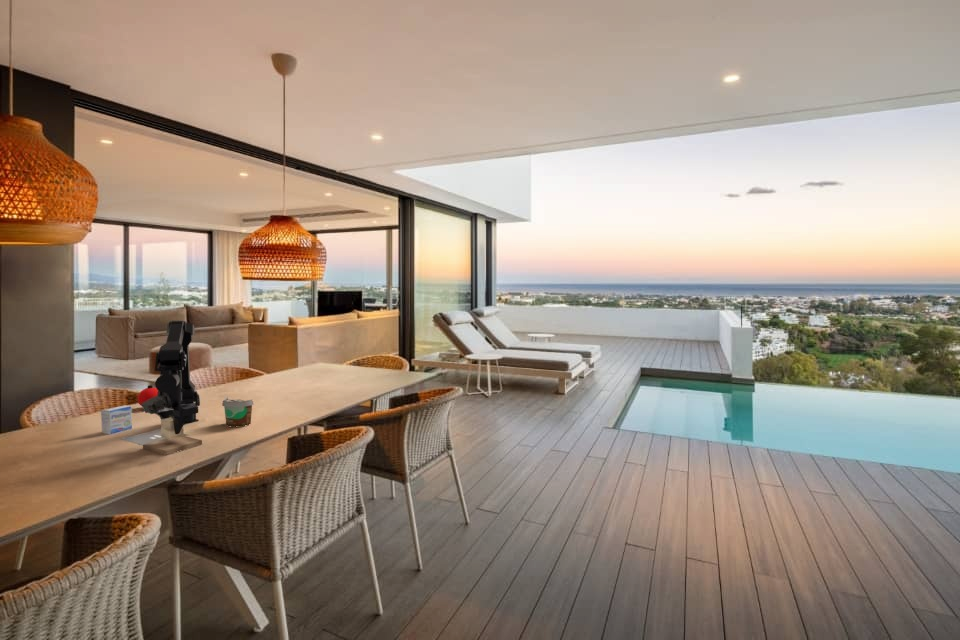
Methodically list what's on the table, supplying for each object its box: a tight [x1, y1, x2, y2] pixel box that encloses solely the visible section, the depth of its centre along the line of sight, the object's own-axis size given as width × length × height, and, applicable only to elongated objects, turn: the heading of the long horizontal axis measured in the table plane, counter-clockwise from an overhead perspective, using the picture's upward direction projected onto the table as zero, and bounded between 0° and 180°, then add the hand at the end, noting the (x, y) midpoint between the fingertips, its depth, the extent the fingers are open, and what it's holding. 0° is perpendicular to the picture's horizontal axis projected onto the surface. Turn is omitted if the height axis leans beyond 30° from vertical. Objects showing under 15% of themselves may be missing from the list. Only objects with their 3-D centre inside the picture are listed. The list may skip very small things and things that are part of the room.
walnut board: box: [142, 436, 203, 456], centre depth 160 cm, size 12×12×2 cm
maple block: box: [160, 417, 185, 439], centre depth 159 cm, size 4×4×6 cm
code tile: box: [120, 428, 189, 446], centre depth 169 cm, size 14×16×1 cm
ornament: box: [137, 384, 158, 407], centre depth 207 cm, size 9×9×10 cm
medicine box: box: [100, 404, 133, 435], centre depth 175 cm, size 8×4×9 cm, turn 161°
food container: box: [221, 396, 255, 428], centre depth 185 cm, size 12×6×10 cm, turn 76°
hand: (172, 432), depth 160 cm, fingers closed on maple block, 4 cm apart
